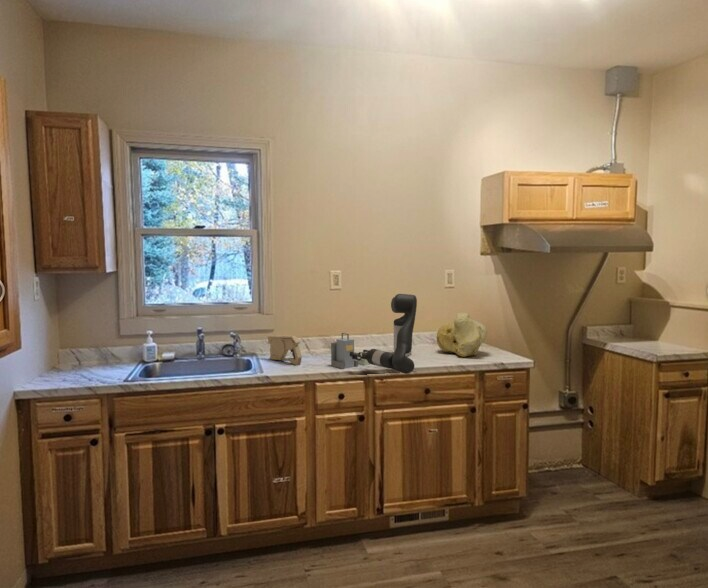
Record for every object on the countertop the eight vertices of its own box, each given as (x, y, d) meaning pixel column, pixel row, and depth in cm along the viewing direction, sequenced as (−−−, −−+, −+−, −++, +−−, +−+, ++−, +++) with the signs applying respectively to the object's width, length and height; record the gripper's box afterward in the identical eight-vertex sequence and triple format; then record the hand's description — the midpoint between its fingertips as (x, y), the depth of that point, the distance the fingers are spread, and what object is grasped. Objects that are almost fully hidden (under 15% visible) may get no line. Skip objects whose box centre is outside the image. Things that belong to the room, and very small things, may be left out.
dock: (346, 363, 265) (346, 340, 264) (358, 366, 258) (357, 343, 257) (331, 365, 259) (330, 342, 258) (342, 369, 251) (342, 345, 250)
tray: (366, 358, 278) (366, 352, 277) (381, 362, 267) (381, 356, 267) (348, 361, 270) (348, 355, 270) (364, 365, 260) (364, 359, 260)
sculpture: (459, 329, 264) (434, 305, 290) (452, 371, 275) (429, 344, 301) (500, 324, 272) (472, 301, 298) (492, 365, 282) (465, 340, 308)
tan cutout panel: (302, 364, 262) (300, 335, 262) (298, 365, 260) (295, 336, 260) (273, 362, 279) (271, 335, 279) (269, 363, 277) (267, 336, 276)
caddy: (345, 364, 262) (345, 331, 261) (354, 366, 257) (354, 333, 255) (336, 366, 259) (336, 333, 257) (345, 368, 253) (344, 334, 252)
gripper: (389, 348, 241) (367, 343, 254) (367, 352, 233) (345, 347, 245) (389, 363, 242) (367, 358, 255) (367, 368, 233) (345, 362, 246)
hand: (357, 352), depth 250 cm, fingers open, 8 cm apart
